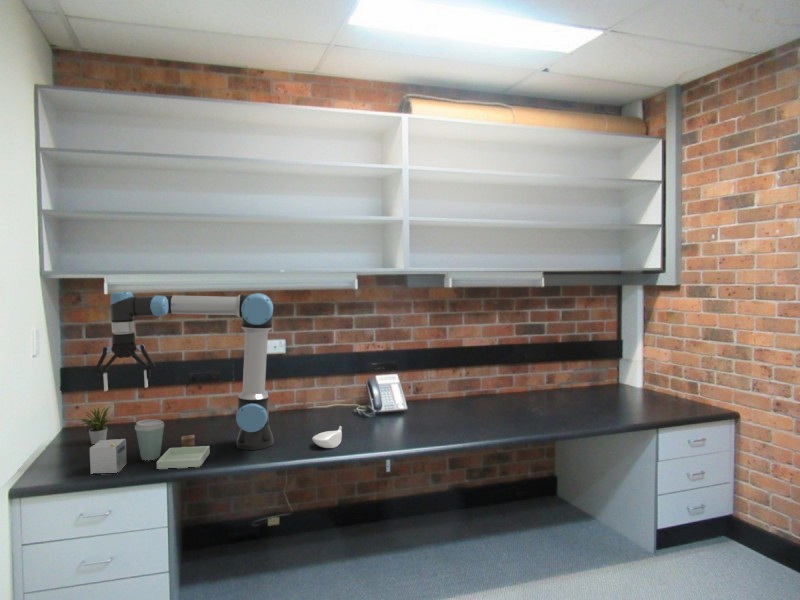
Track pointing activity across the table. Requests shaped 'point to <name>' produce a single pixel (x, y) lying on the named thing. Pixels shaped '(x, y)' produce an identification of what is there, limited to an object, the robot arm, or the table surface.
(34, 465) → the table surface
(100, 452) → the unit
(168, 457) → the tray
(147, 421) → the disposable coffee cup
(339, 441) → the golf club head
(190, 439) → the walnut block
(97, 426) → the house plant
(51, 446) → the table surface
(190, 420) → the table surface
